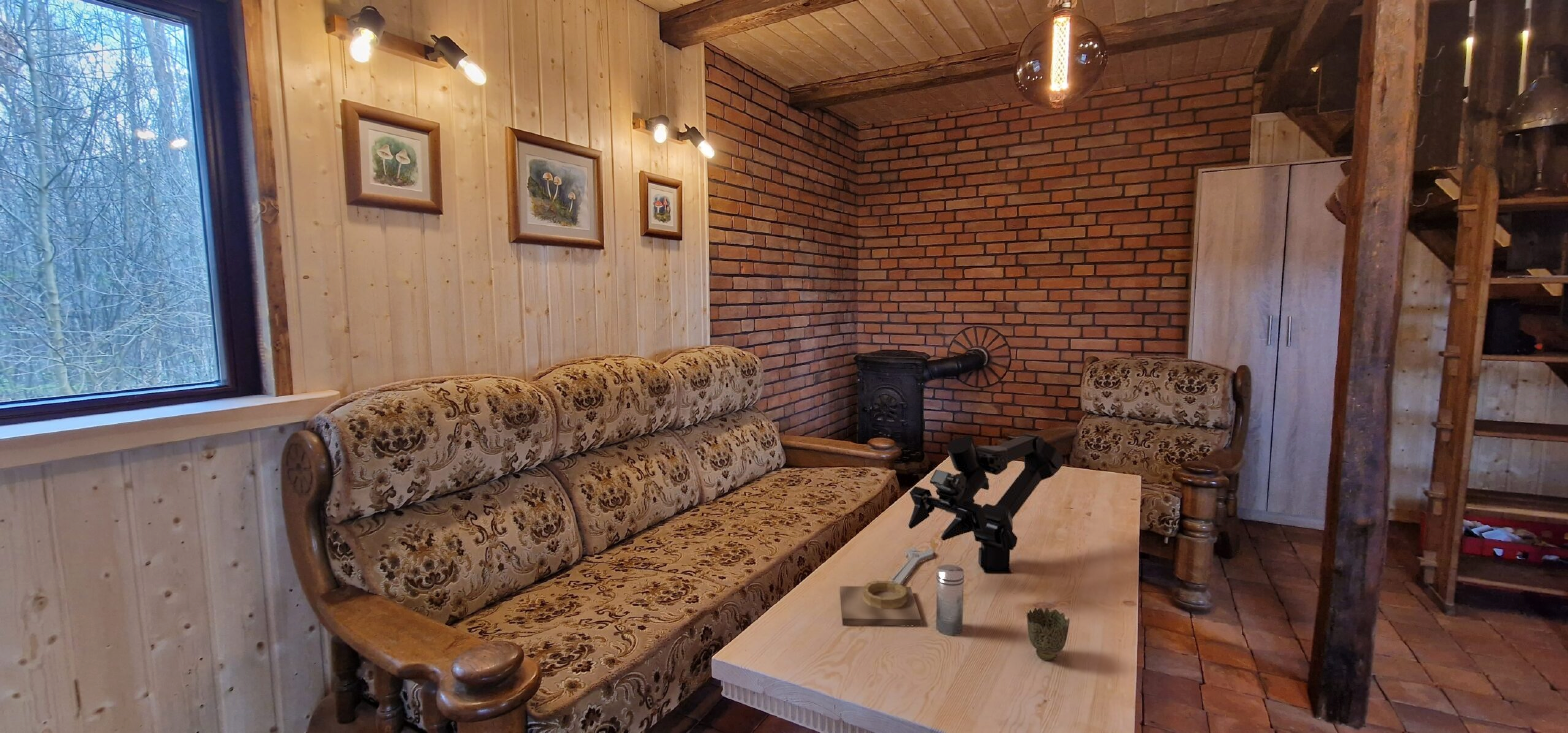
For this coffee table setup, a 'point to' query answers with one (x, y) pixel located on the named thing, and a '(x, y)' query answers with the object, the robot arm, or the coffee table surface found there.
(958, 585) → the silver metal cylinder
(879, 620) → the ring seat
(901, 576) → the adjustable wrench
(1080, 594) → the coffee table surface
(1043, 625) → the cup
